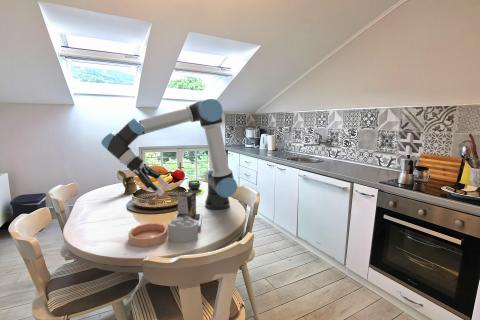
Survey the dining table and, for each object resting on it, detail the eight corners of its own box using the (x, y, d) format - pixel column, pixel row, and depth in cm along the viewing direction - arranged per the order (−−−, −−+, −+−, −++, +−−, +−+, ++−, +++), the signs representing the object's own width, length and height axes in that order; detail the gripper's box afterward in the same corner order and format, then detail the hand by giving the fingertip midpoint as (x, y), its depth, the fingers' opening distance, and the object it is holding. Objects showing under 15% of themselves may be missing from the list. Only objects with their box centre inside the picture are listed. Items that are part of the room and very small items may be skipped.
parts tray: (201, 217, 136) (201, 213, 135) (200, 230, 121) (200, 225, 120) (176, 218, 134) (175, 214, 134) (171, 231, 119) (171, 226, 119)
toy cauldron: (208, 190, 186) (208, 176, 185) (195, 195, 174) (194, 180, 172) (193, 187, 194) (193, 173, 192) (179, 192, 182) (179, 177, 180)
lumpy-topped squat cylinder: (178, 230, 121) (177, 213, 119) (202, 234, 117) (202, 216, 115) (165, 240, 111) (164, 221, 109) (191, 244, 107) (191, 225, 105)
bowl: (169, 229, 121) (169, 222, 121) (163, 245, 105) (163, 238, 105) (135, 230, 119) (135, 223, 119) (124, 247, 104) (123, 239, 103)
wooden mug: (115, 195, 172) (114, 169, 169) (132, 190, 184) (130, 166, 181) (124, 197, 168) (123, 171, 165) (140, 192, 180) (139, 167, 177)
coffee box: (190, 228, 122) (189, 197, 120) (177, 227, 124) (177, 196, 121) (196, 221, 131) (196, 191, 129) (185, 220, 133) (184, 190, 130)
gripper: (134, 161, 131) (164, 188, 136) (116, 171, 107) (154, 204, 111) (144, 151, 131) (174, 179, 135) (128, 159, 107) (166, 192, 111)
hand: (165, 190), depth 123 cm, fingers open, 13 cm apart
